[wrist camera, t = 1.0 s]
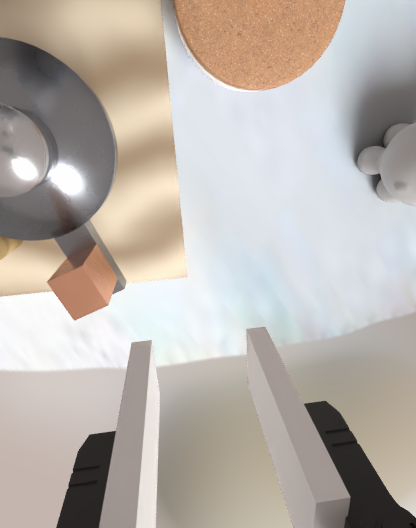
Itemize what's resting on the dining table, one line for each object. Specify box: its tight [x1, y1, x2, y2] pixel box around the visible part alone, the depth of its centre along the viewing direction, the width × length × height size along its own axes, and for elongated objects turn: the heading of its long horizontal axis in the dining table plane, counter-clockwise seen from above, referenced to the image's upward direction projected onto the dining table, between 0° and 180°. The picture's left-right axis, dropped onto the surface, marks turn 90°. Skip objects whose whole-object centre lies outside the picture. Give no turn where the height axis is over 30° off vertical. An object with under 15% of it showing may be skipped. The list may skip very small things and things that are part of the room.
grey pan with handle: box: [0, 37, 127, 320], centre depth 20 cm, size 18×12×6 cm
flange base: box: [0, 0, 187, 296], centre depth 25 cm, size 24×20×8 cm
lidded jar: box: [173, 0, 345, 92], centre depth 22 cm, size 11×11×9 cm
